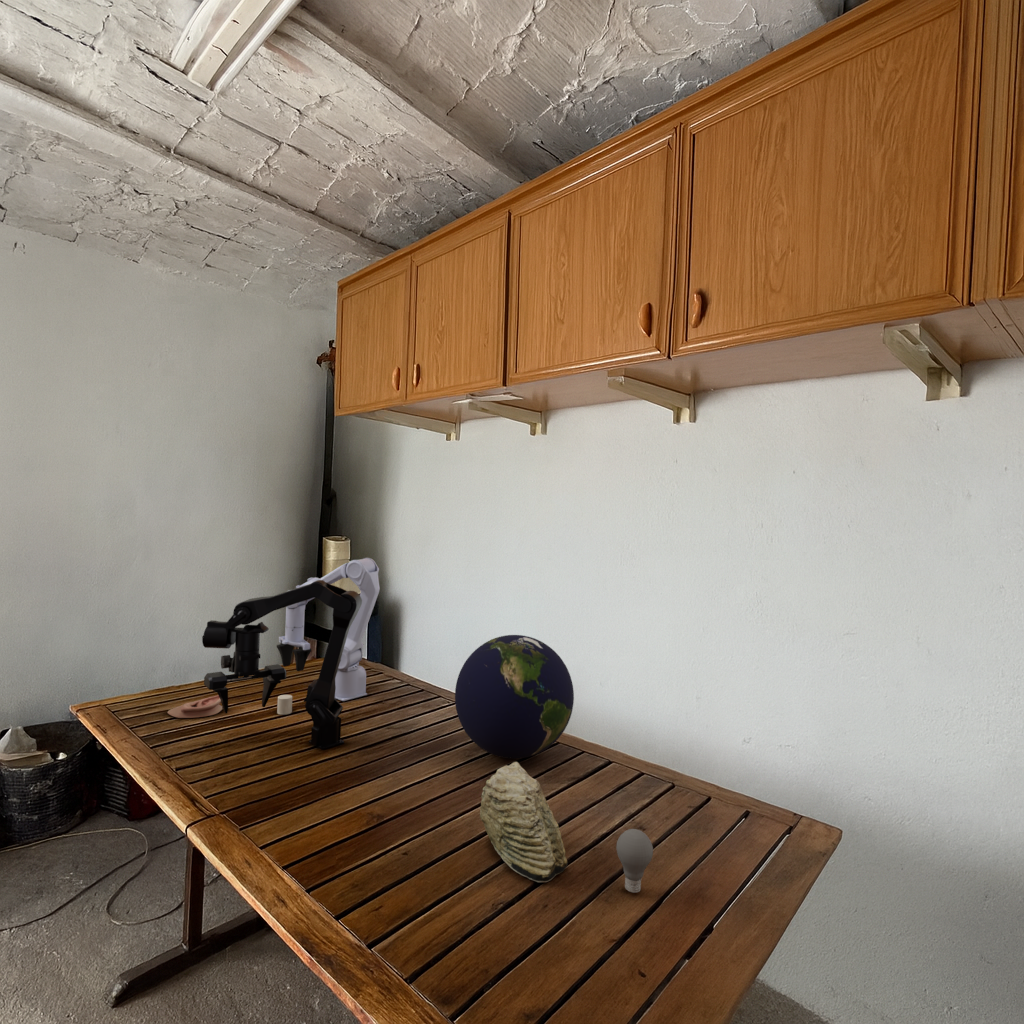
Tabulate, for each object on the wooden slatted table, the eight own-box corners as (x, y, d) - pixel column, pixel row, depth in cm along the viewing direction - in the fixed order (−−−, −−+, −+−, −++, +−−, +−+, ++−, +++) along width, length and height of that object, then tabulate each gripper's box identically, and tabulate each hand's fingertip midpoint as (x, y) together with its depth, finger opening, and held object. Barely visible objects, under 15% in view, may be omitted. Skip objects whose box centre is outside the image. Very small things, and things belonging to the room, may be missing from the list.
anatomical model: (160, 701, 176) (189, 689, 187) (159, 715, 176) (188, 703, 187) (202, 706, 173) (229, 694, 185) (201, 721, 173) (228, 708, 185)
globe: (500, 724, 181) (504, 620, 180) (592, 752, 164) (597, 636, 163) (427, 755, 157) (432, 635, 156) (526, 792, 139) (533, 657, 139)
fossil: (501, 827, 124) (504, 751, 124) (575, 868, 111) (578, 784, 111) (467, 843, 118) (470, 763, 118) (541, 889, 105) (545, 799, 105)
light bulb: (610, 879, 108) (613, 822, 108) (644, 879, 109) (647, 822, 109) (619, 902, 102) (622, 840, 102) (655, 901, 103) (658, 840, 103)
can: (280, 709, 186) (281, 694, 186) (293, 710, 186) (294, 694, 185) (274, 714, 182) (275, 698, 182) (288, 715, 182) (289, 699, 181)
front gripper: (273, 639, 173) (271, 695, 174) (199, 646, 162) (197, 707, 162) (288, 647, 165) (285, 707, 165) (211, 656, 153) (208, 720, 153)
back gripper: (271, 624, 206) (269, 666, 206) (296, 631, 197) (295, 675, 197) (290, 621, 211) (288, 662, 212) (316, 628, 202) (314, 670, 203)
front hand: (244, 709), depth 162 cm, fingers open, 9 cm apart
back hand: (293, 668), depth 205 cm, fingers open, 7 cm apart
